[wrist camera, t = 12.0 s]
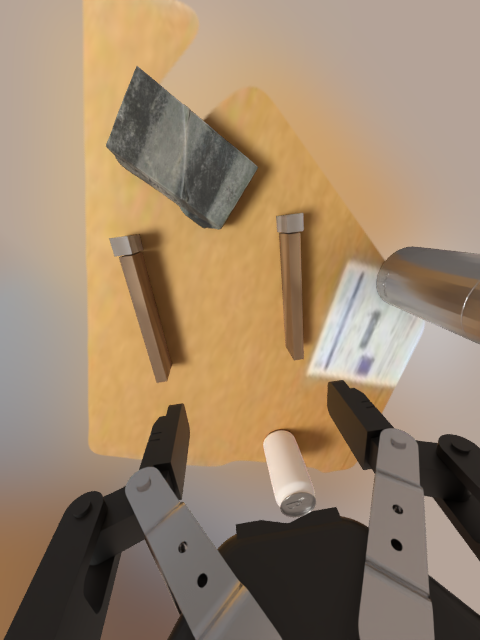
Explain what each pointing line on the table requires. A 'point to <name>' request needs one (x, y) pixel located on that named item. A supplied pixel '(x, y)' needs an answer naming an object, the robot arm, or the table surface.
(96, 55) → the table surface
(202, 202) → the stone block
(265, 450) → the can
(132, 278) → the pair of wooden rails
